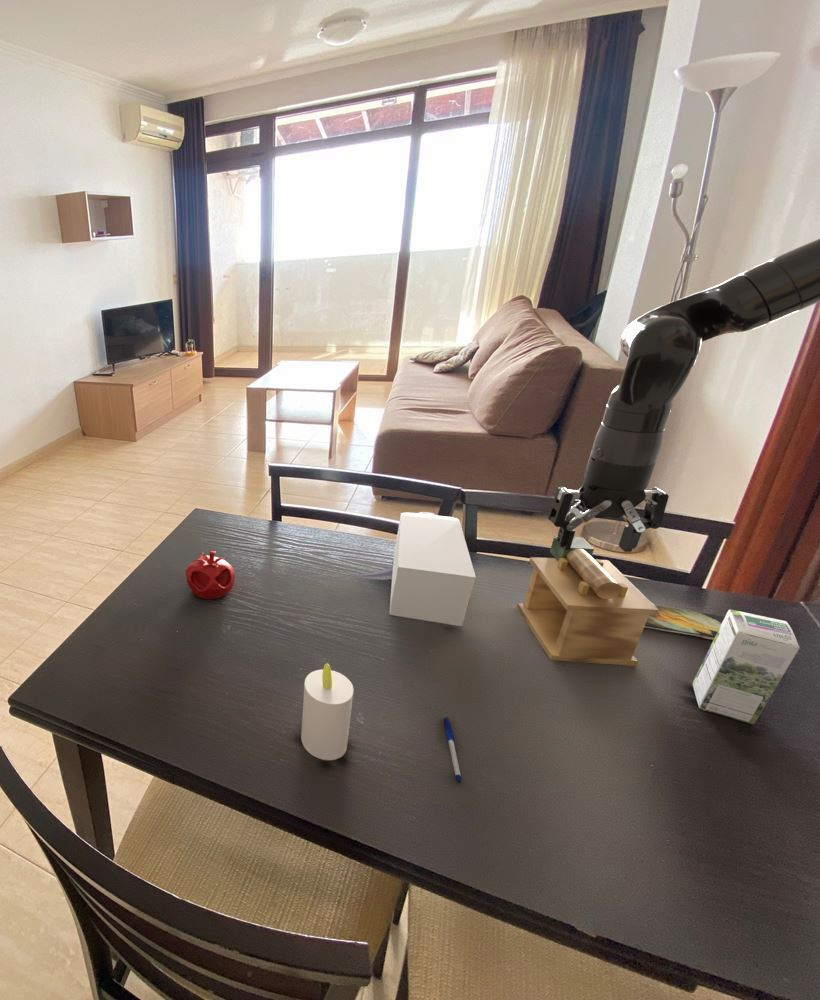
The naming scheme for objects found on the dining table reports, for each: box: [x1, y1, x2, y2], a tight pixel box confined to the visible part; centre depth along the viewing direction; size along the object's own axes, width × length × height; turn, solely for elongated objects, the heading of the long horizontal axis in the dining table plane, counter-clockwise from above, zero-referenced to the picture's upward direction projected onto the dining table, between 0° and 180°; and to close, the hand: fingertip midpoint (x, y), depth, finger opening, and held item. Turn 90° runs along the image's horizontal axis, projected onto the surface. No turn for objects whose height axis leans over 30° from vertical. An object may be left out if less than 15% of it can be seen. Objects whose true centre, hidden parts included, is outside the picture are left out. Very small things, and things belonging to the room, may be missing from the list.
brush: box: [549, 536, 621, 599], centre depth 89 cm, size 14×4×3 cm, turn 168°
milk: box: [388, 511, 477, 627], centre depth 105 cm, size 12×12×26 cm
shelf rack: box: [516, 556, 659, 667], centre depth 90 cm, size 12×14×13 cm
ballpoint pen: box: [443, 717, 462, 784], centre depth 74 cm, size 10×1×1 cm, turn 164°
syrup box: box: [691, 608, 800, 725], centre depth 74 cm, size 6×6×14 cm
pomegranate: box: [185, 550, 236, 600], centre depth 110 cm, size 10×10×9 cm
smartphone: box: [644, 604, 726, 641], centre depth 93 cm, size 7×1×15 cm
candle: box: [300, 663, 354, 761], centre depth 74 cm, size 6×6×15 cm
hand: (593, 548), depth 86 cm, fingers open, 8 cm apart
